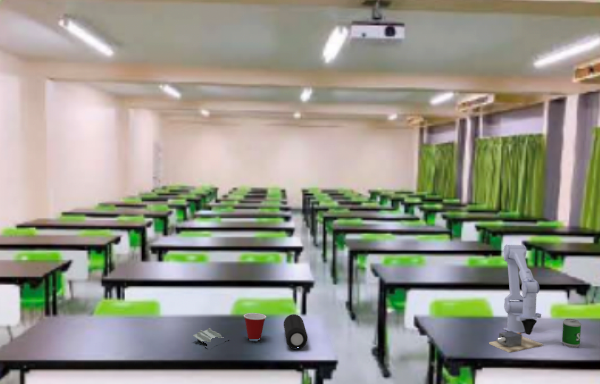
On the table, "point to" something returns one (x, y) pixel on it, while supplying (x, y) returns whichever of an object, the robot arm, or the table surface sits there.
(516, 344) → the bearing stand
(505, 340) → the shaft
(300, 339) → the portable speaker
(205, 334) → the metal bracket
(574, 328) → the soda can
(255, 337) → the plastic cup
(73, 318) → the table surface
